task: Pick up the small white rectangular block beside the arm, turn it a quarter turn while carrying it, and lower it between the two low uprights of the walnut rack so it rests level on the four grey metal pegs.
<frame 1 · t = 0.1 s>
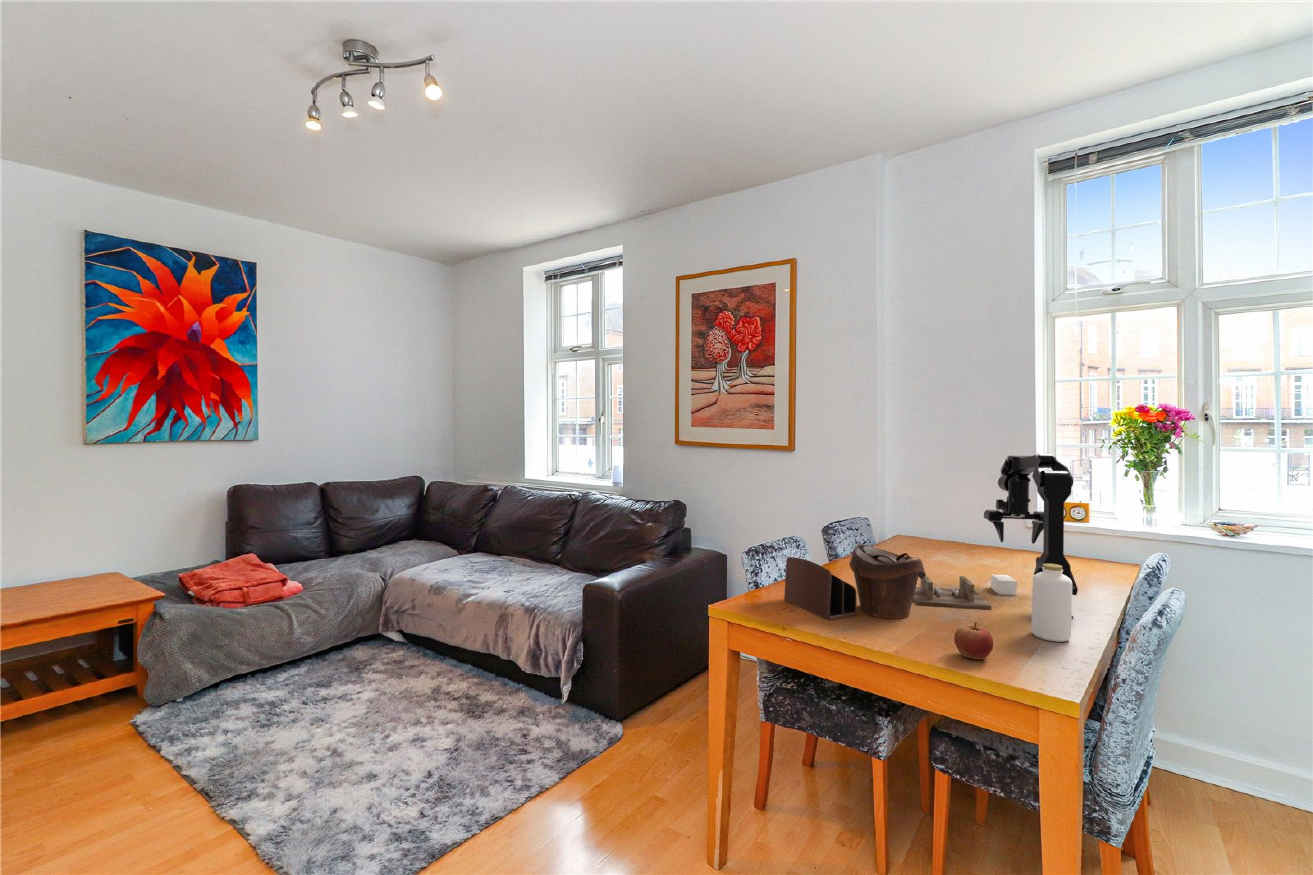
hand: (1017, 542, 197), 14 cm above the table, tool pointing down, fingers open, 9 cm apart
apple: (973, 658, 139), on the table
rack: (946, 599, 184), on the table
brown lidded bucket: (885, 612, 171), on the table
letter holder: (819, 609, 175), on the table
white rectangular block: (1003, 592, 193), on the table
potion bottle: (1050, 638, 152), on the table
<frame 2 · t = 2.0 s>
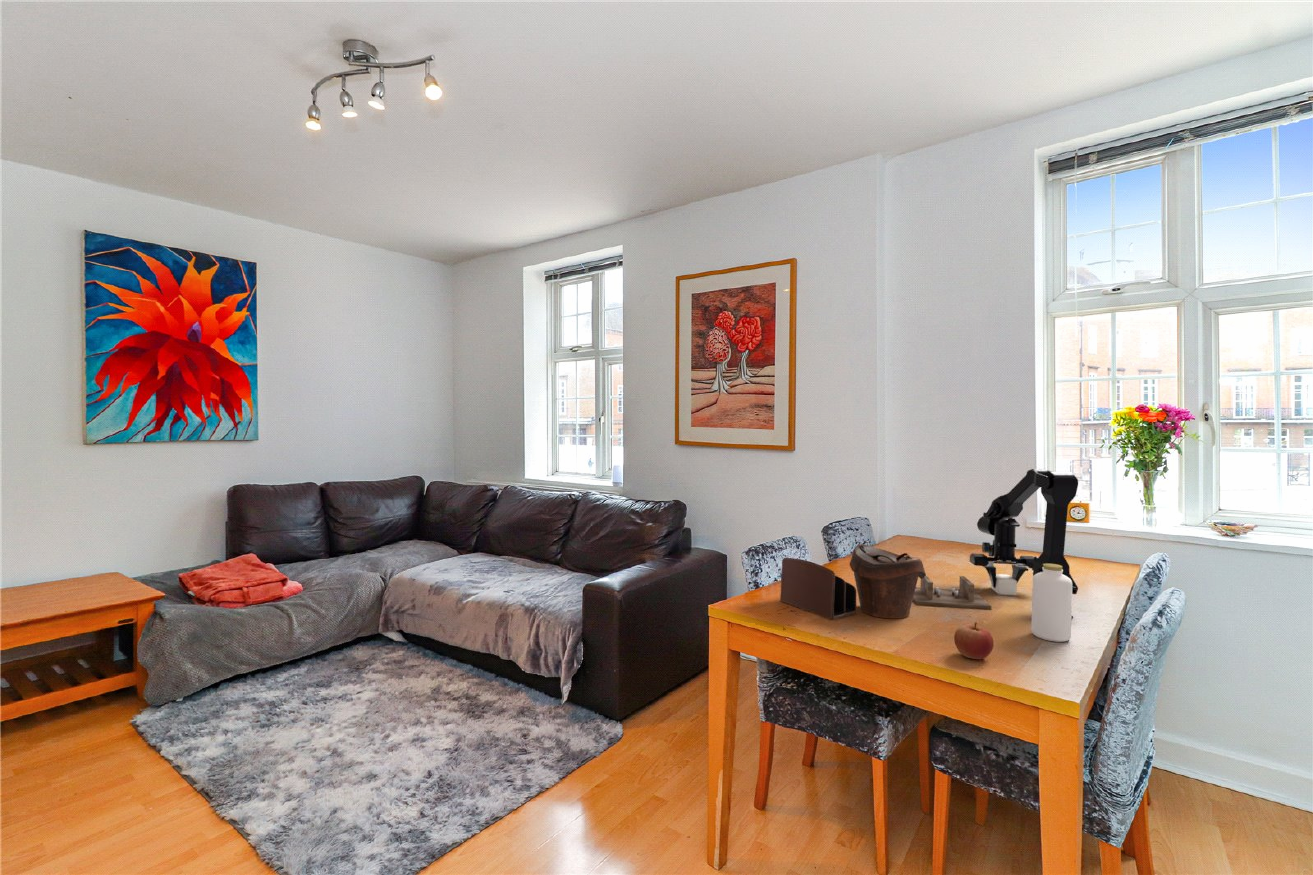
hand: (1003, 588, 193), 1 cm above the table, tool pointing down, fingers closed on white rectangular block, 5 cm apart
white rectangular block: (1003, 591, 193), on the table, touching gripper
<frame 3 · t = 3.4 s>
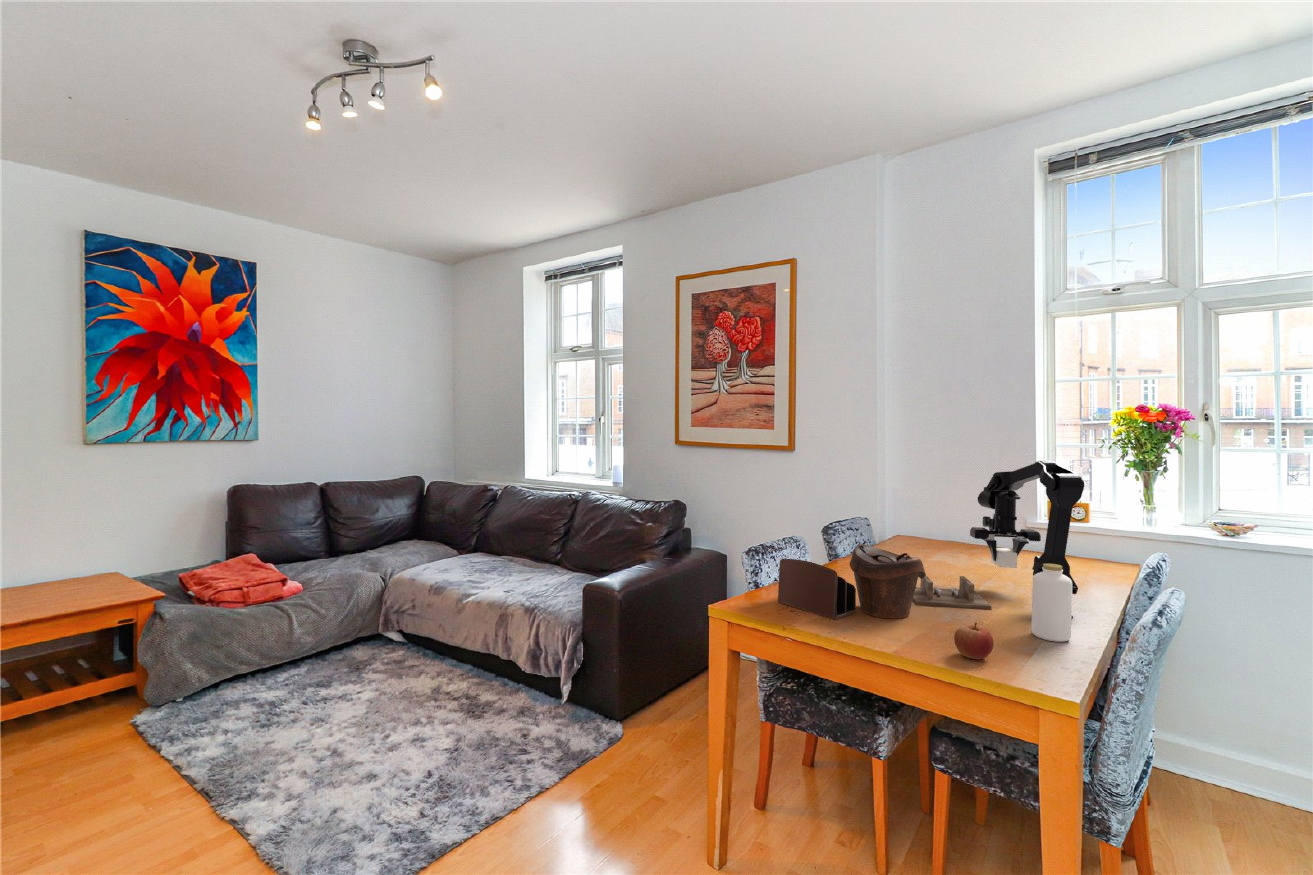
hand: (1003, 561, 192), 9 cm above the table, tool pointing down, fingers closed on white rectangular block, 5 cm apart
white rectangular block: (1003, 564, 192), point 8 cm above the table, touching gripper
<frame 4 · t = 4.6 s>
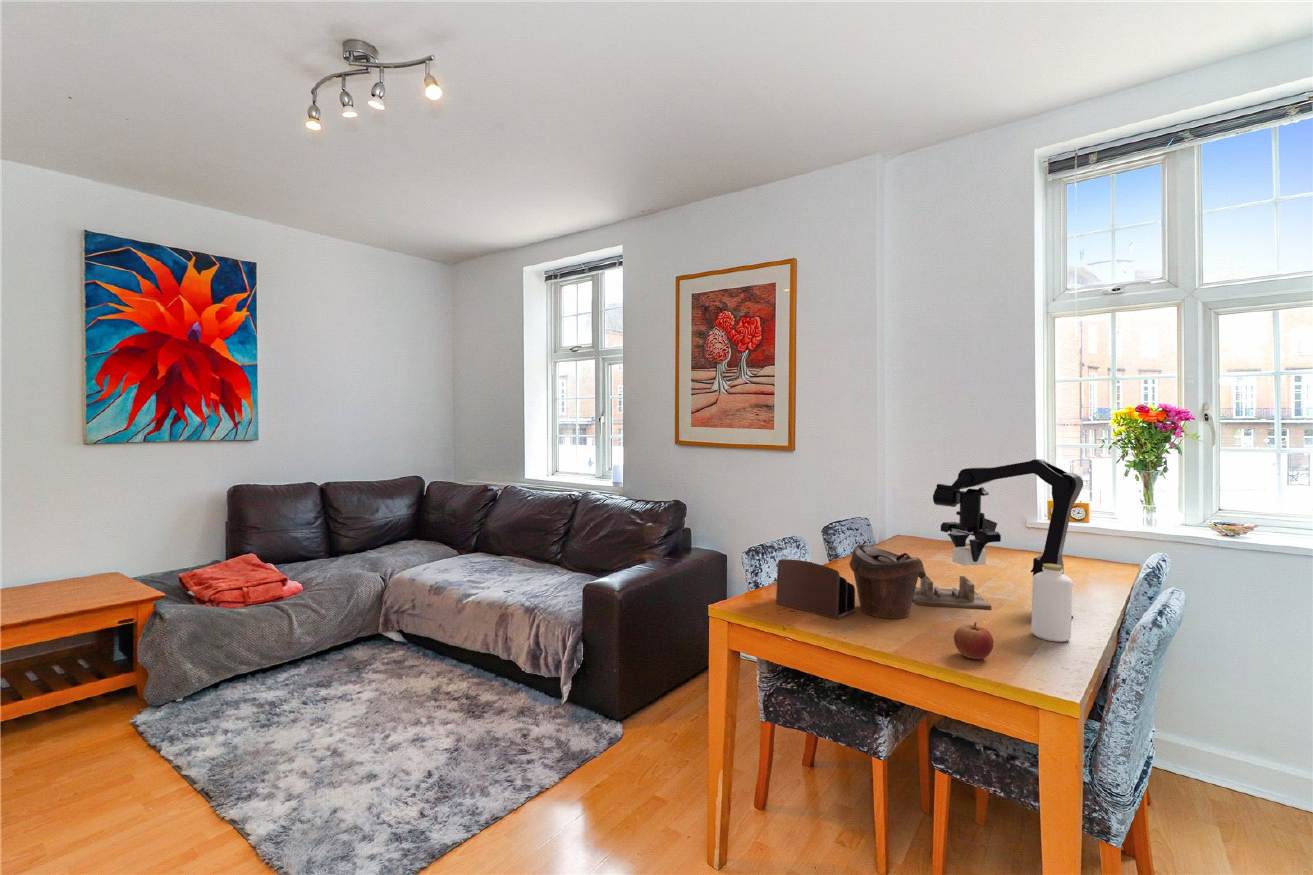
hand: (968, 559, 187), 11 cm above the table, tool pointing down, fingers closed on white rectangular block, 5 cm apart
white rectangular block: (968, 563, 187), point 10 cm above the table, touching gripper
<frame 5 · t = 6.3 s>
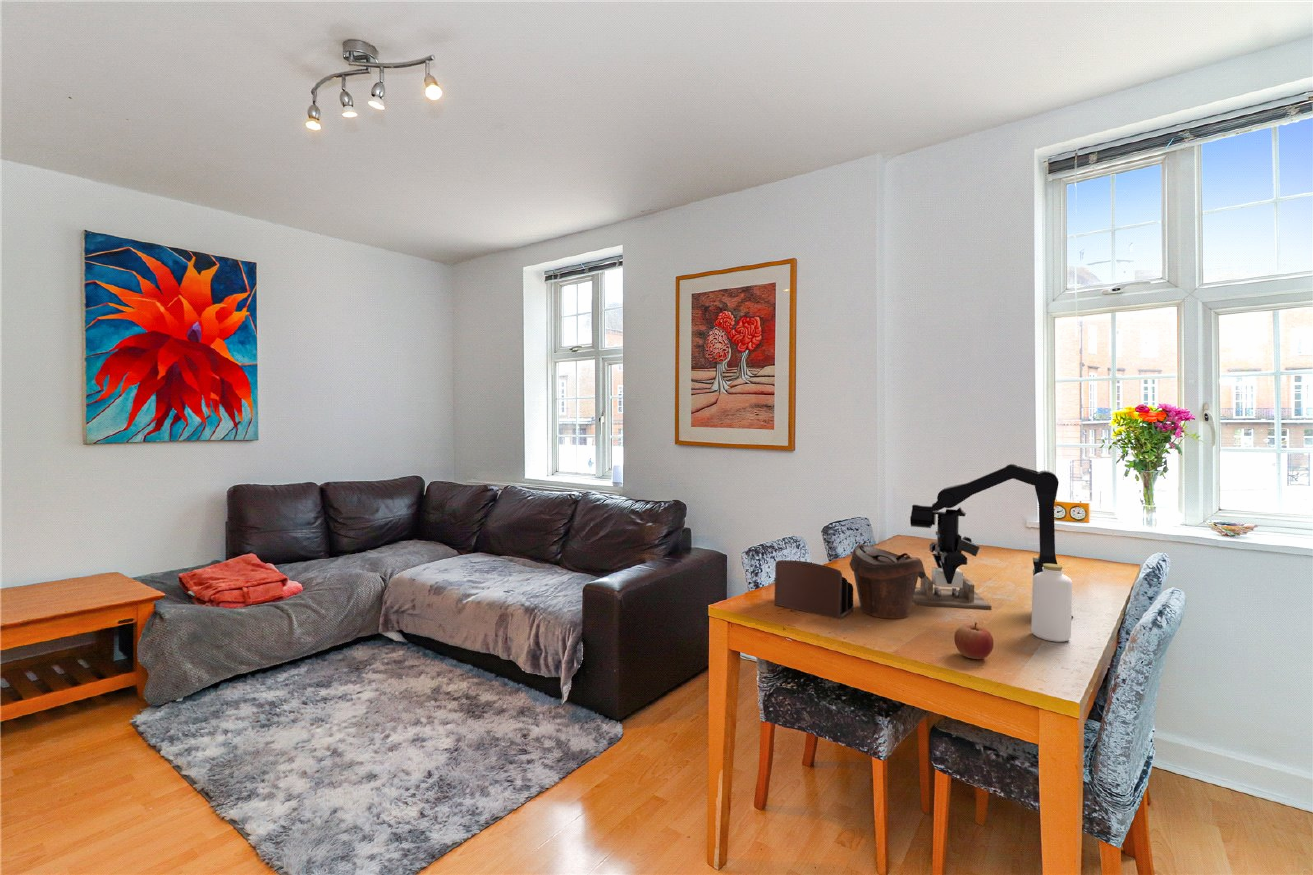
hand: (946, 581, 184), 5 cm above the table, tool pointing down, fingers closed on white rectangular block, 5 cm apart
white rectangular block: (946, 584, 184), point 4 cm above the table, touching gripper
when the fingers open (5 cm above the table, at t = 7.4 s): white rectangular block drops 1 cm, resting on rack.
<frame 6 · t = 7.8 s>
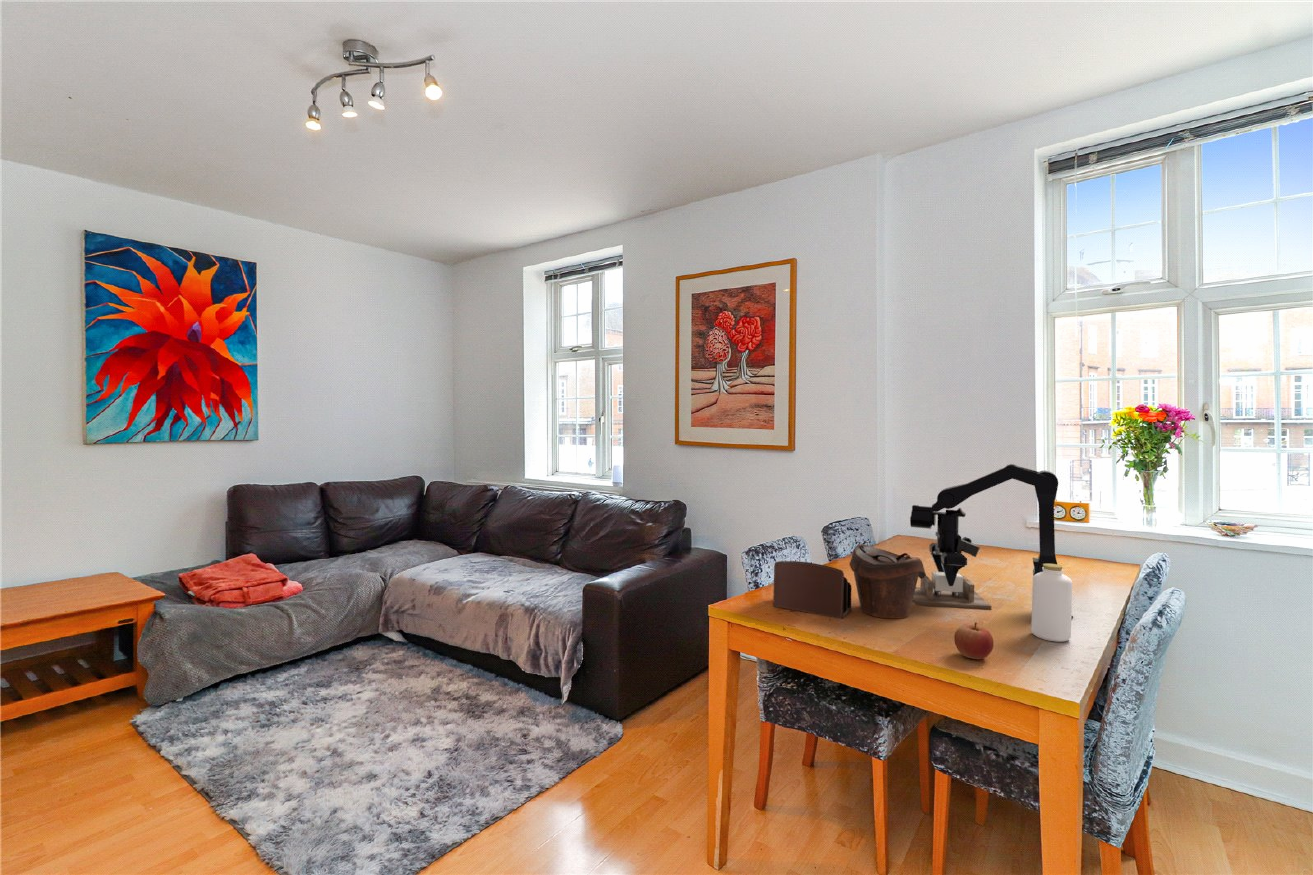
hand: (946, 581, 184), 5 cm above the table, tool pointing down, fingers open, 9 cm apart
white rectangular block: (946, 589, 184), point 3 cm above the table, touching rack
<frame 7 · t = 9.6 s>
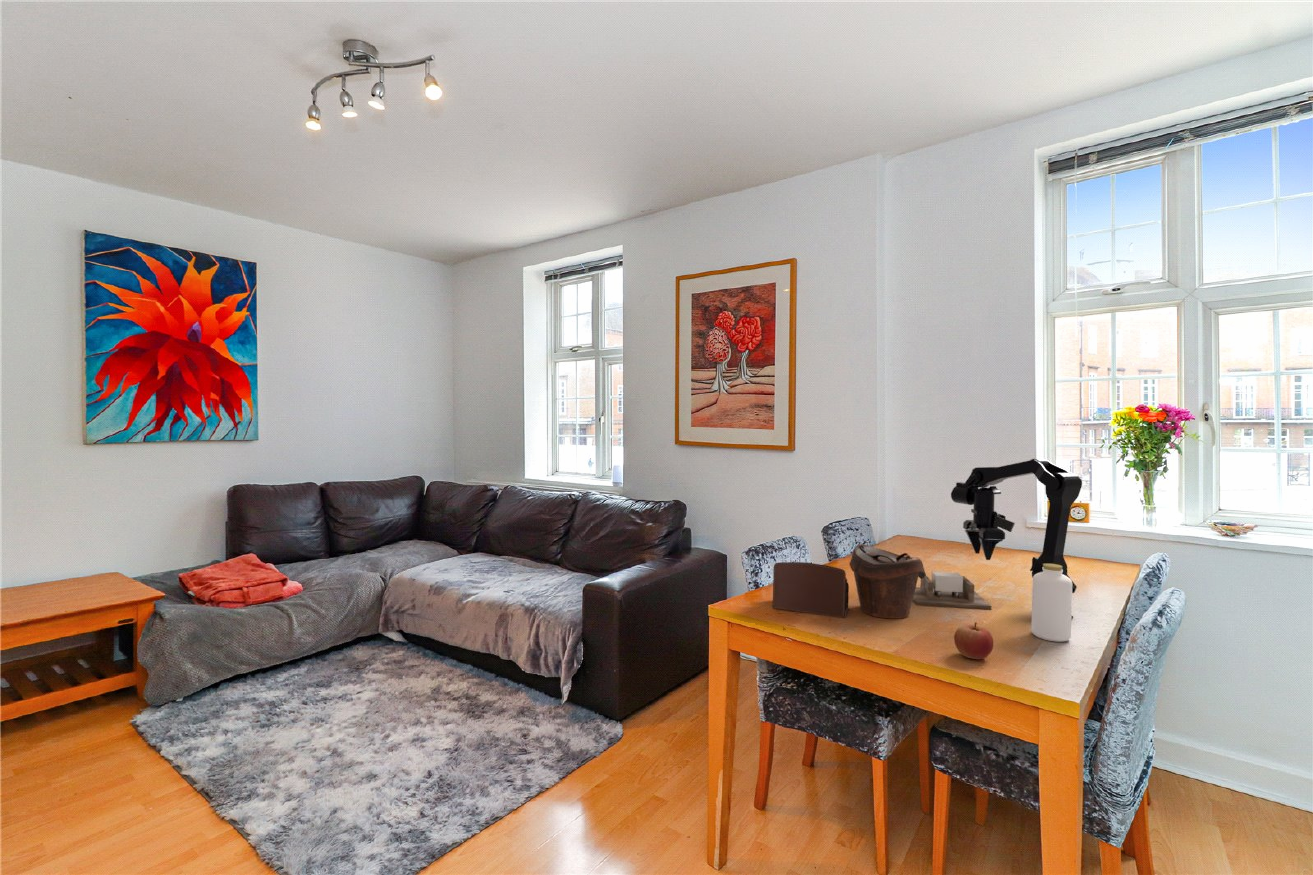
hand: (982, 556, 192), 11 cm above the table, tool pointing down, fingers open, 9 cm apart
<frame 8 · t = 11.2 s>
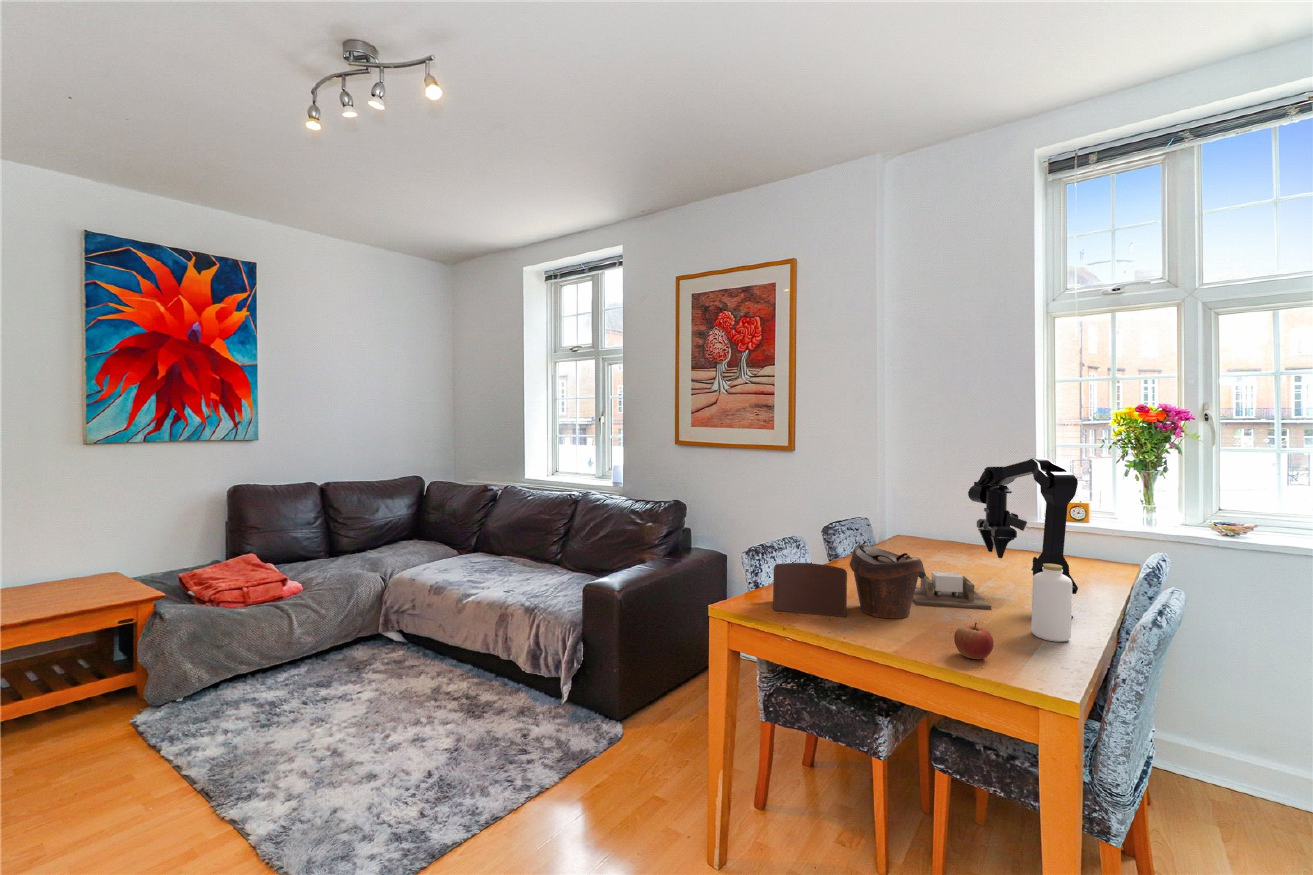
hand: (995, 554, 195), 11 cm above the table, tool pointing down, fingers open, 9 cm apart
at the end: white rectangular block 0.1 cm off-centre on the rack, point 3.0 cm above the rack's base; white rectangular block tilted 0°; the gripper is holding nothing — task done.
